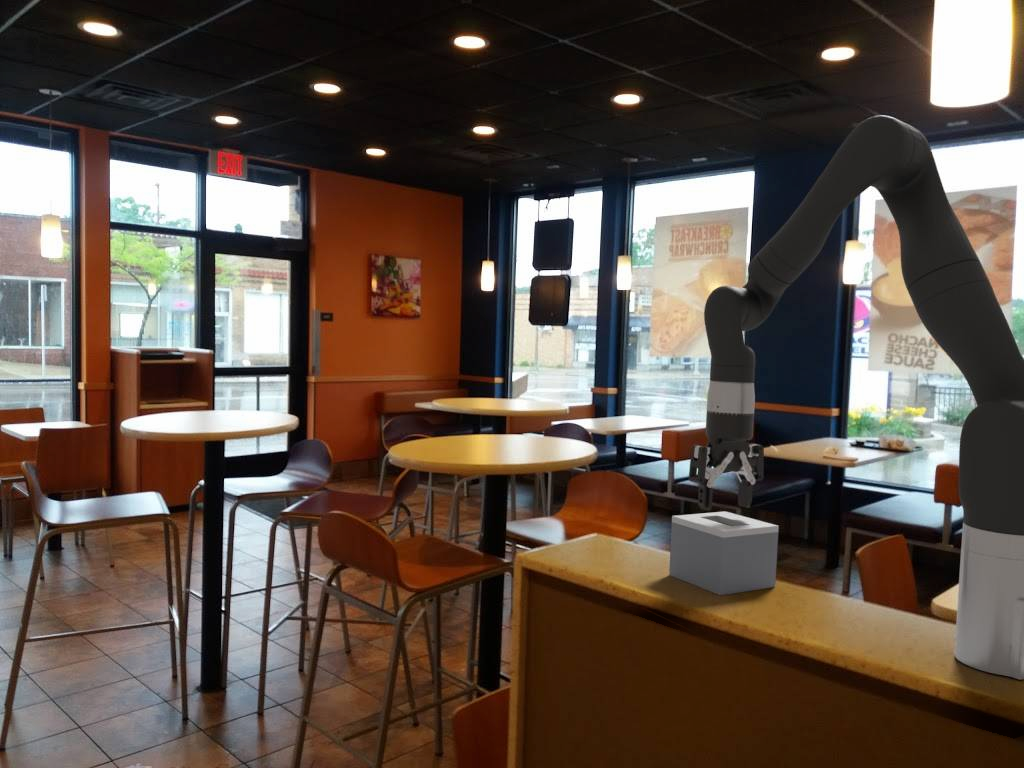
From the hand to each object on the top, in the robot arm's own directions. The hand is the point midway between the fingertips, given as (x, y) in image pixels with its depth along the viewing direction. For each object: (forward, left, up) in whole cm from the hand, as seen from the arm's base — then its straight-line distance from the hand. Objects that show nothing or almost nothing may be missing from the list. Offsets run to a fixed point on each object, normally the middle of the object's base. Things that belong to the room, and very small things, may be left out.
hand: (725, 508), depth 134 cm
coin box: (0, 0, -12) cm, 12 cm away
